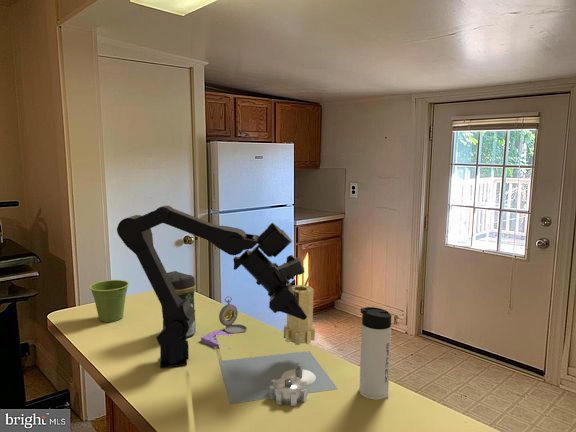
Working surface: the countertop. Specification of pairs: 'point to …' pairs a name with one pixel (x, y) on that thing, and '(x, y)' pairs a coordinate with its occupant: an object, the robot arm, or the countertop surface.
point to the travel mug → (375, 353)
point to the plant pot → (109, 299)
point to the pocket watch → (230, 319)
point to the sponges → (213, 338)
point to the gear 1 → (297, 327)
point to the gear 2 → (288, 391)
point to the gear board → (271, 375)
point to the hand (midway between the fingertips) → (305, 313)
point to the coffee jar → (184, 292)
